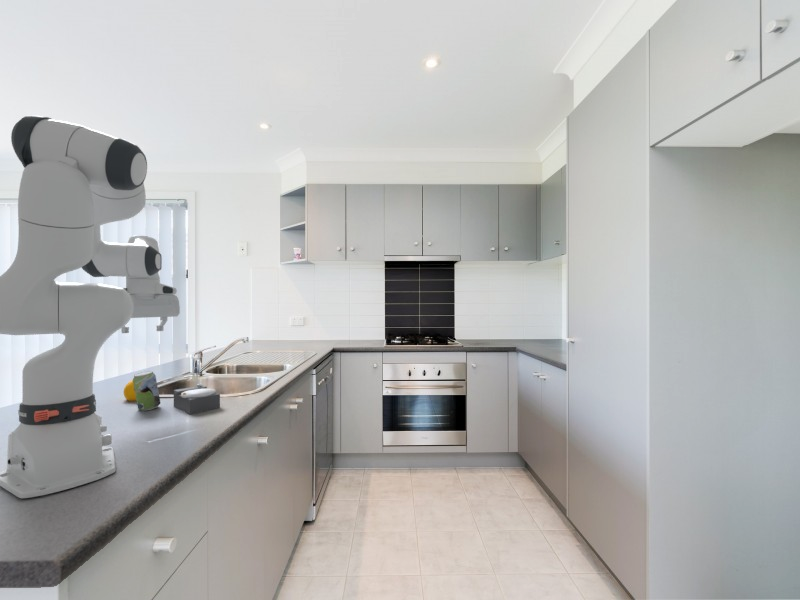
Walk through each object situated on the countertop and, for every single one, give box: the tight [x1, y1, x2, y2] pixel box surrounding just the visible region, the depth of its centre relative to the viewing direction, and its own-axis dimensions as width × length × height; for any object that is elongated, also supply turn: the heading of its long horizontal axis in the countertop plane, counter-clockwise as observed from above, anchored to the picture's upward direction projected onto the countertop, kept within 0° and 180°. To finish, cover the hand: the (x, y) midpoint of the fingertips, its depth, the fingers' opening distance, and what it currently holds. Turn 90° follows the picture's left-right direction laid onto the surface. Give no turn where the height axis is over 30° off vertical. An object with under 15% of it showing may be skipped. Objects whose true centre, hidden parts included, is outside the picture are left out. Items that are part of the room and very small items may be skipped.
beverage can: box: [132, 370, 161, 412], centre depth 118 cm, size 6×7×12 cm
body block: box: [173, 383, 221, 415], centre depth 120 cm, size 13×10×6 cm
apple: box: [123, 379, 137, 402], centre depth 130 cm, size 8×8×8 cm
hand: (143, 332), depth 118 cm, fingers open, 8 cm apart
